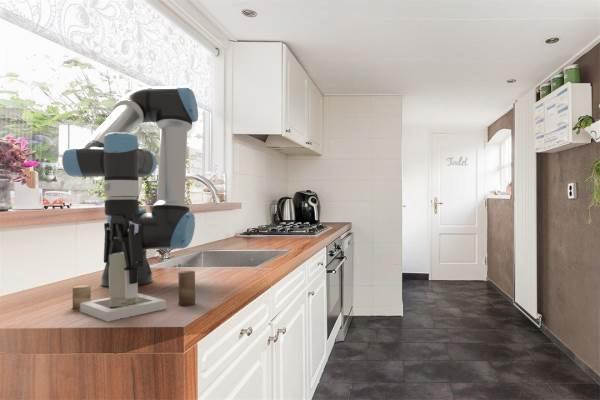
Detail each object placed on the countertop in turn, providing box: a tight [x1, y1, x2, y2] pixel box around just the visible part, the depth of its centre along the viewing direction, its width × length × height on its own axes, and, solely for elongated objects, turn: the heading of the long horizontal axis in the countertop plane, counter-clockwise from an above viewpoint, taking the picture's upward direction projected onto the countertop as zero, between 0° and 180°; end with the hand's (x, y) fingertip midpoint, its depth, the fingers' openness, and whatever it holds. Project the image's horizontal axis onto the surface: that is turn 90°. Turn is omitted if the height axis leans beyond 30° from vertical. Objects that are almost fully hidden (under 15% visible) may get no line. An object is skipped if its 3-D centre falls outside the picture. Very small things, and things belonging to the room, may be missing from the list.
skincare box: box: [109, 252, 136, 308], centre depth 103 cm, size 6×4×12 cm
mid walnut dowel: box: [177, 270, 196, 307], centre depth 108 cm, size 4×4×8 cm
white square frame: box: [79, 292, 167, 322], centre depth 103 cm, size 14×14×2 cm
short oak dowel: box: [71, 284, 92, 310], centre depth 106 cm, size 4×4×5 cm
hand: (123, 295), depth 103 cm, fingers closed on skincare box, 7 cm apart
